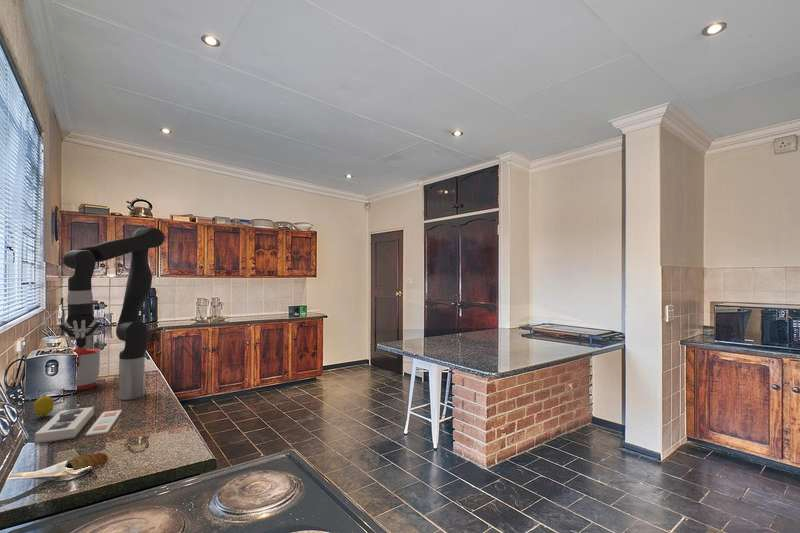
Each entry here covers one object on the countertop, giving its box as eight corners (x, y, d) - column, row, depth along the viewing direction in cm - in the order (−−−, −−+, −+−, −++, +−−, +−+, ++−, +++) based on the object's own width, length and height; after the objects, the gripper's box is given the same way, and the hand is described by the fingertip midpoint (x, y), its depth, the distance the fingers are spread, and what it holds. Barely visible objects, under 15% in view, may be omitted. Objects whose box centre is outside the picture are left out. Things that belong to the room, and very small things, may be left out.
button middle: (76, 419, 141) (76, 410, 141) (72, 423, 137) (72, 414, 137) (61, 421, 139) (61, 412, 139) (57, 425, 136) (57, 416, 136)
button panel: (93, 414, 151) (93, 406, 151) (74, 437, 130) (74, 428, 130) (60, 418, 146) (60, 410, 147) (34, 443, 126) (34, 433, 126)
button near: (69, 430, 134) (69, 421, 135) (65, 434, 131) (65, 425, 131) (54, 432, 133) (54, 423, 133) (49, 436, 129) (50, 427, 129)
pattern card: (122, 411, 155) (122, 409, 155) (107, 433, 134) (107, 430, 134) (103, 413, 152) (103, 411, 152) (85, 436, 131) (85, 434, 131)
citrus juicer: (47, 395, 174) (47, 350, 174) (68, 384, 191) (69, 343, 191) (88, 392, 178) (89, 348, 178) (106, 382, 195) (106, 341, 195)
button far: (82, 416, 147) (82, 408, 147) (78, 420, 144) (78, 411, 144) (68, 418, 145) (68, 409, 146) (64, 421, 142) (64, 413, 142)
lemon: (41, 419, 145) (42, 398, 145) (29, 418, 146) (30, 397, 147) (57, 414, 151) (57, 393, 151) (45, 413, 152) (46, 392, 152)
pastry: (100, 457, 117) (100, 444, 117) (113, 463, 113) (113, 449, 114) (61, 472, 108) (61, 458, 108) (74, 478, 105) (74, 463, 105)
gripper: (103, 300, 158) (104, 343, 158) (61, 302, 152) (62, 347, 152) (99, 302, 151) (100, 347, 151) (54, 304, 145) (55, 351, 145)
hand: (81, 347), depth 152 cm, fingers closed
